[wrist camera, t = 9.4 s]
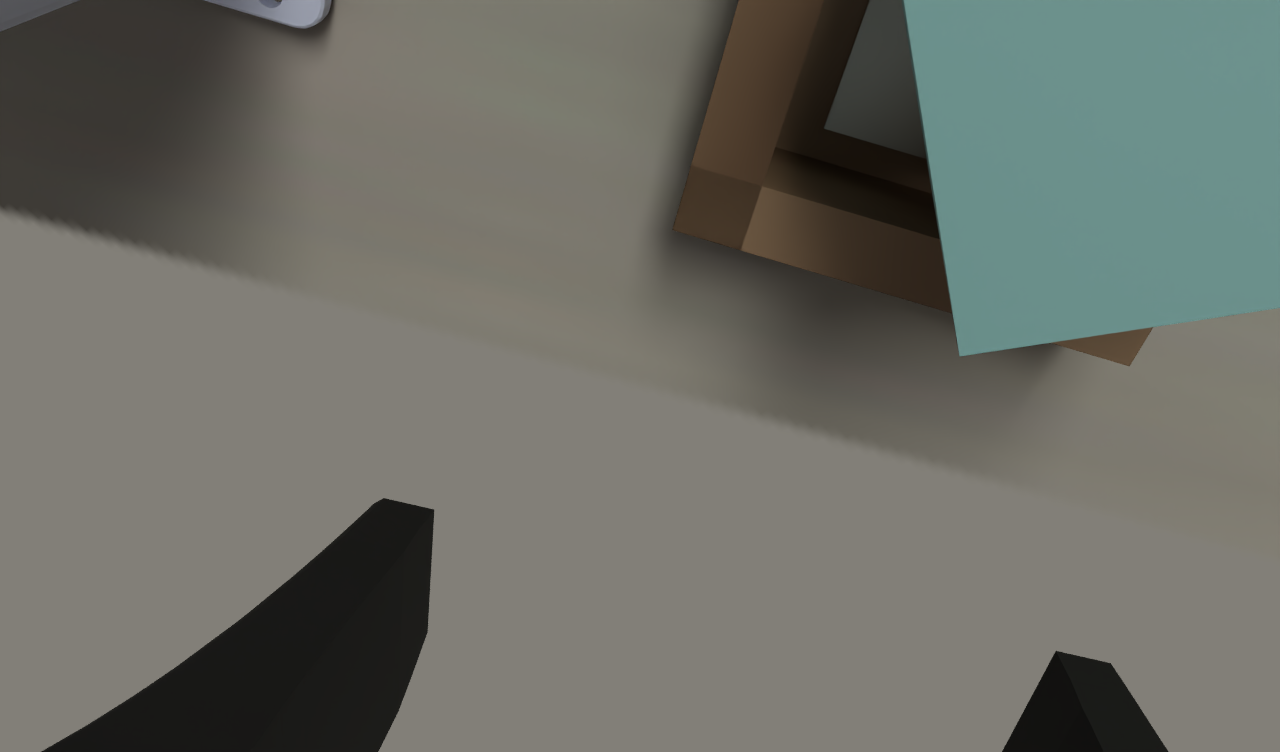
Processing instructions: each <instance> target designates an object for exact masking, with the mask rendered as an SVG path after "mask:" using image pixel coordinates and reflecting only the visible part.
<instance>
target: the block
mask: <svg viewBox="0 0 1280 752" xmlns="http://www.w3.org/2000/svg"><path fill="white" fill-rule="evenodd" d="M902 7H903V13H904V19H905V26H906V32H907V38H908V45H909V51H910V57H911V64H912V70H913V76H914V83H915V89H916V95H917V102H918V108H919V114H920V121H921V127H922V133H923V140H924V146H925V152H926V159H927V165H928V171H929V178H930V184H931V190H932V196H933V202H934V207H935V213H936V219H937V225H938V231H939V237H940V243H941V249H942V255H943V261H944V267H945V273H946V279H947V285H948V291H949V296H950V302H951V308H952V314H953V320H954V326H955V332H956V338H957V344H958V350H959V356H966V355H972V354H979V353H986V352H992V351H999V350H1005V349H1012V348H1019V347H1025V346H1032V345H1038V344H1045V343H1052V342H1058V341H1065V340H1071V339H1078V338H1084V337H1091V336H1098V335H1104V334H1111V333H1117V332H1124V331H1131V330H1137V329H1144V328H1150V327H1157V326H1163V325H1170V324H1177V323H1183V322H1190V321H1196V320H1203V319H1210V318H1216V317H1223V316H1229V315H1236V314H1243V313H1249V312H1256V311H1262V310H1269V309H1275V308H1280V0H902Z"/></svg>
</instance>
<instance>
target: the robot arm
mask: <svg viewBox="0 0 1280 752" xmlns="http://www.w3.org/2000/svg"><path fill="white" fill-rule="evenodd" d="M77 1H79V0H0V32H1V31H4V30H6V29H9V28H11V27H14V26H16V25H19V24H21V23H24V22H26V21H29V20H31V19H34V18H36V17H39V16H41V15H44V14H46V13H49V12H51V11H54V10H56V9H59V8H61V7H64V6H66V5H69V4H71V3H74V2H77ZM204 1H207V2H211V3H214V4H218V5H221V6H224V7H228V8H231V9H234V10H238V11H241V12H244V13H248V14H251V15H254V16H258V17H261V18H265V19H268V20H271V21H275V22H278V23H281V24H285V25H288V26H291V27H295V28H304V29H306V28H309V27H312V26H314V25H316V24H318V23H319V22H321V21H322V20H323V19H324V18H325V17H326V16H327V15H328V13H329V9H330V6H331V0H282V2H277V1H275V0H204ZM433 522H434V510H433V509H429V508H425V507H420V506H416V505H411V504H407V503H402V502H398V501H394V500H389V499H385V498H383V499H382V500H380V501H378V502H376V503H374V504H373V505H372V506H371V507H370V508H369V509H368V510H367V511H366V512H365V513H364V514H362V515H361V516H360V517H359V518H358V519H357V520H356V521H355V522H354V523H353V524H352V525H351V526H349V527H348V528H347V529H346V530H345V531H344V532H343V533H342V534H341V535H340V536H339V537H337V538H336V539H335V540H334V541H333V542H332V543H331V544H330V545H329V546H327V547H326V548H325V549H324V550H323V551H322V552H321V553H320V554H318V555H317V556H316V557H315V558H314V559H313V560H311V561H310V562H309V563H308V564H307V565H306V566H305V567H303V569H301V570H300V571H299V572H298V573H296V574H295V575H294V576H293V577H292V578H291V579H290V580H288V581H287V582H286V583H284V584H283V585H282V586H281V587H279V588H278V589H277V590H276V591H275V592H273V593H272V594H271V595H270V596H269V597H267V598H266V599H265V600H264V601H262V602H261V603H260V604H259V605H258V606H256V607H255V608H254V609H253V610H251V611H250V612H249V613H248V614H247V615H245V616H244V617H243V618H241V619H240V620H239V621H238V622H236V623H235V624H234V625H232V626H231V627H230V628H228V629H227V630H226V631H224V632H223V633H221V634H220V635H219V636H217V637H216V638H215V639H213V640H212V641H211V642H209V643H208V644H207V645H205V646H204V647H203V648H201V649H200V650H199V651H197V652H196V653H194V654H193V655H192V656H190V657H189V658H188V659H186V660H185V661H184V662H182V663H181V664H180V665H178V666H177V667H175V668H174V669H173V670H171V671H170V672H168V673H167V674H165V675H164V676H162V677H161V678H159V679H158V680H156V681H155V682H154V683H152V684H151V685H149V686H148V687H147V688H145V689H143V690H142V691H140V692H139V693H137V694H136V695H134V696H133V697H131V698H130V699H128V700H126V701H125V702H123V703H122V704H120V705H118V706H117V707H115V708H114V709H112V710H111V711H109V712H107V713H106V714H104V715H103V716H101V717H100V718H98V719H97V720H95V721H93V722H91V723H90V724H88V725H87V726H85V727H83V728H82V729H80V730H78V731H76V732H75V733H73V734H71V735H69V736H68V737H66V738H64V739H63V740H61V741H59V742H57V743H56V744H54V745H52V746H51V747H49V748H47V749H45V750H44V751H42V752H378V751H379V749H380V747H381V745H382V743H383V741H384V739H385V737H386V735H387V733H388V731H389V729H390V727H391V725H392V723H393V721H394V719H395V717H396V715H397V713H398V711H399V708H400V705H401V703H402V700H403V698H404V695H405V692H406V690H407V687H408V684H409V682H410V679H411V676H412V674H413V671H414V668H415V665H416V663H417V660H418V657H419V654H420V651H421V649H422V645H423V643H424V640H425V638H426V635H427V631H428V630H427V629H428V613H429V594H430V576H431V559H432V558H431V557H432V540H433ZM1002 752H1168V750H1167V749H1166V747H1165V746H1164V745H1163V743H1162V741H1161V740H1160V738H1159V737H1158V735H1157V734H1156V732H1155V730H1154V729H1153V727H1152V726H1151V724H1150V723H1149V721H1148V720H1147V718H1146V716H1145V715H1144V713H1143V712H1142V710H1141V709H1140V707H1139V706H1138V704H1137V703H1136V701H1135V699H1134V698H1133V696H1132V695H1131V693H1130V692H1129V691H1128V689H1127V687H1126V686H1125V684H1124V683H1123V681H1122V680H1121V678H1120V677H1119V675H1118V674H1117V672H1116V671H1115V669H1114V668H1113V666H1112V665H1111V663H1107V662H1102V661H1098V660H1094V659H1089V658H1085V657H1080V656H1076V655H1071V654H1067V653H1063V652H1058V651H1056V652H1055V654H1054V656H1053V657H1052V659H1051V661H1050V663H1049V665H1048V667H1047V669H1046V671H1045V672H1044V674H1043V676H1042V678H1041V680H1040V682H1039V684H1038V686H1037V687H1036V689H1035V691H1034V693H1033V695H1032V697H1031V699H1030V701H1029V702H1028V704H1027V706H1026V708H1025V710H1024V712H1023V714H1022V715H1021V717H1020V719H1019V721H1018V723H1017V725H1016V727H1015V729H1014V730H1013V732H1012V734H1011V736H1010V738H1009V740H1008V742H1007V744H1006V745H1005V747H1004V749H1003V751H1002Z"/></svg>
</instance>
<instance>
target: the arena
mask: <svg viewBox="0 0 1280 752" xmlns="http://www.w3.org/2000/svg"><path fill="white" fill-rule="evenodd" d="M672 230H674V231H677V232H681V233H684V234H687V235H691V236H694V237H698V238H701V239H704V240H708V241H711V242H714V243H718V244H721V245H724V246H728V247H731V248H734V249H738V250H741V251H744V252H748V253H751V254H755V255H758V256H761V257H765V258H768V259H771V260H775V261H778V262H781V263H785V264H788V265H791V266H795V267H798V268H801V269H805V270H808V271H812V272H815V273H818V274H822V275H825V276H828V277H832V278H835V279H838V280H842V281H845V282H848V283H852V284H855V285H858V286H862V287H865V288H869V289H872V290H875V291H879V292H882V293H885V294H889V295H892V296H895V297H899V298H902V299H905V300H909V301H912V302H915V303H919V304H922V305H926V306H929V307H932V308H936V309H939V310H942V311H946V312H949V313H952V308H951V302H950V296H949V291H948V285H947V279H946V273H945V267H944V261H943V255H942V249H941V243H940V237H939V231H938V225H937V219H936V213H935V207H934V202H933V196H932V190H931V184H930V178H929V171H928V165H927V159H926V152H925V146H924V140H923V133H922V127H921V121H920V114H919V108H918V102H917V95H916V89H915V83H914V76H913V70H912V64H911V57H910V51H909V45H908V38H907V32H906V26H905V19H904V13H903V7H902V0H739V1H738V5H737V8H736V12H735V15H734V19H733V22H732V25H731V29H730V32H729V36H728V39H727V43H726V46H725V50H724V53H723V57H722V60H721V63H720V67H719V70H718V74H717V77H716V81H715V84H714V88H713V91H712V95H711V98H710V101H709V105H708V108H707V112H706V115H705V119H704V122H703V126H702V129H701V133H700V136H699V139H698V143H697V146H696V150H695V153H694V157H693V160H692V164H691V167H690V171H689V174H688V178H687V181H686V184H685V188H684V191H683V195H682V198H681V202H680V205H679V209H678V212H677V216H676V219H675V222H674V226H673V229H672ZM1152 328H1153V327H1150V328H1144V329H1137V330H1131V331H1124V332H1117V333H1111V334H1104V335H1098V336H1091V337H1084V338H1078V339H1071V340H1065V341H1058V342H1052V343H1053V344H1056V345H1060V346H1063V347H1066V348H1070V349H1073V350H1076V351H1080V352H1083V353H1087V354H1090V355H1093V356H1097V357H1100V358H1103V359H1107V360H1110V361H1113V362H1117V363H1120V364H1123V365H1127V366H1130V364H1131V363H1132V361H1133V360H1134V358H1135V356H1136V355H1137V353H1138V351H1139V350H1140V348H1141V346H1142V345H1143V343H1144V342H1145V340H1146V338H1147V337H1148V335H1149V333H1150V332H1151V330H1152Z"/></svg>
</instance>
